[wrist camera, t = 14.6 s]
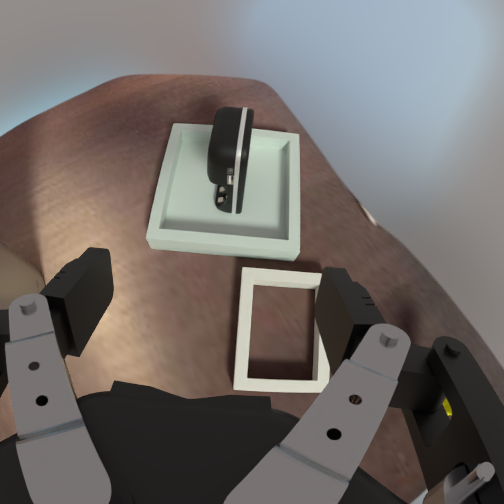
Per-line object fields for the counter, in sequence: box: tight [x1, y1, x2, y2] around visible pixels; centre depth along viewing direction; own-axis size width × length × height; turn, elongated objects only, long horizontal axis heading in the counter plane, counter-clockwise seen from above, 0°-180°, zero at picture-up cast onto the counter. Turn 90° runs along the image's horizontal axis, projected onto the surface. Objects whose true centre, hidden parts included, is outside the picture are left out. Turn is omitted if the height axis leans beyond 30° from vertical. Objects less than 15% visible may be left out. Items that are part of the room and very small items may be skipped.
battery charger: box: [207, 107, 254, 214], centre depth 32 cm, size 7×4×11 cm, turn 175°
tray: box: [146, 123, 300, 261], centre depth 37 cm, size 16×16×3 cm
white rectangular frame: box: [233, 267, 330, 392], centre depth 32 cm, size 9×12×2 cm
